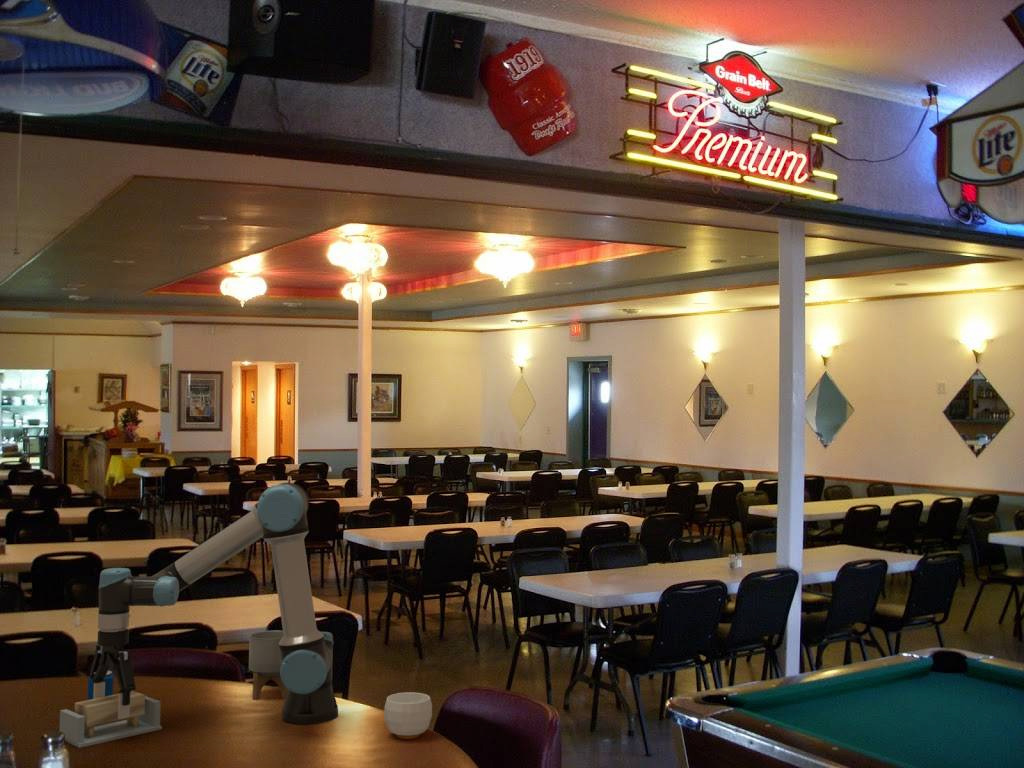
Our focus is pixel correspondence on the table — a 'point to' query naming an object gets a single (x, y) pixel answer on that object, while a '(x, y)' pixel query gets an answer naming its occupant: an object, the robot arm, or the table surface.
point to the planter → (265, 660)
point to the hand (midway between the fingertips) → (111, 712)
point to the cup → (408, 714)
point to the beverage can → (108, 686)
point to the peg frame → (109, 726)
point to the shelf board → (108, 708)
